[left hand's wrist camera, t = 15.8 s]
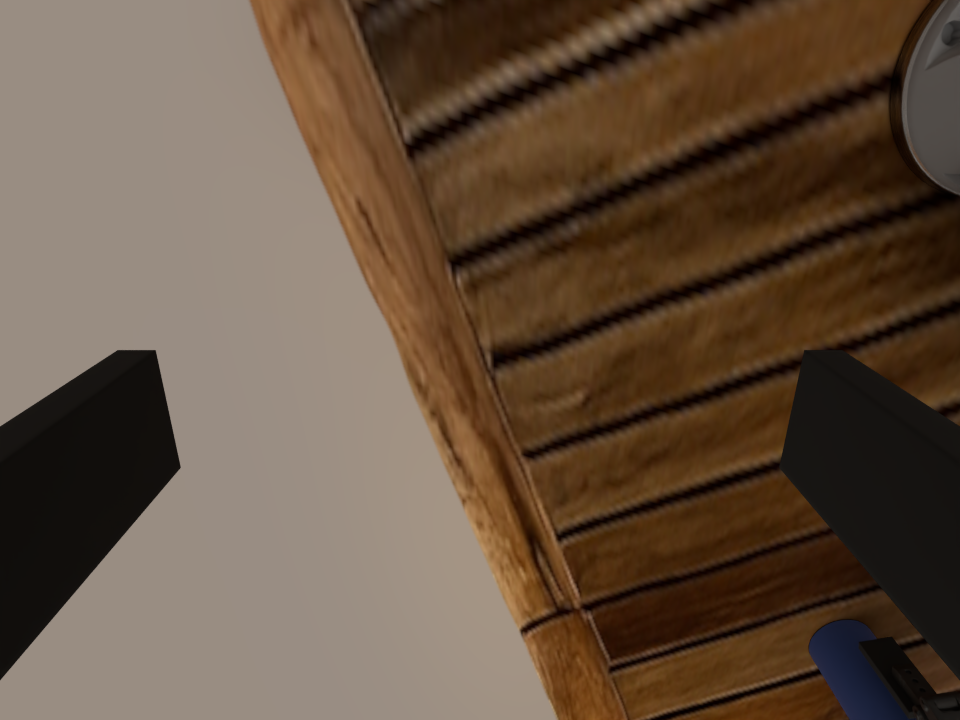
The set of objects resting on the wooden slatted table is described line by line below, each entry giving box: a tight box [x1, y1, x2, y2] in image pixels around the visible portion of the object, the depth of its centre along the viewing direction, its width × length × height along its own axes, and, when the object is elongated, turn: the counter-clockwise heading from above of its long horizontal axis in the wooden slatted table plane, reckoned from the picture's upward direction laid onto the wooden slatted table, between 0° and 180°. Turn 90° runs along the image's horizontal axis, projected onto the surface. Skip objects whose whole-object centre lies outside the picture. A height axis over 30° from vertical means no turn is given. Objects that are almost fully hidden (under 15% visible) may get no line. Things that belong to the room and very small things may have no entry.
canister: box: [809, 620, 916, 720], centre depth 52 cm, size 6×6×12 cm
